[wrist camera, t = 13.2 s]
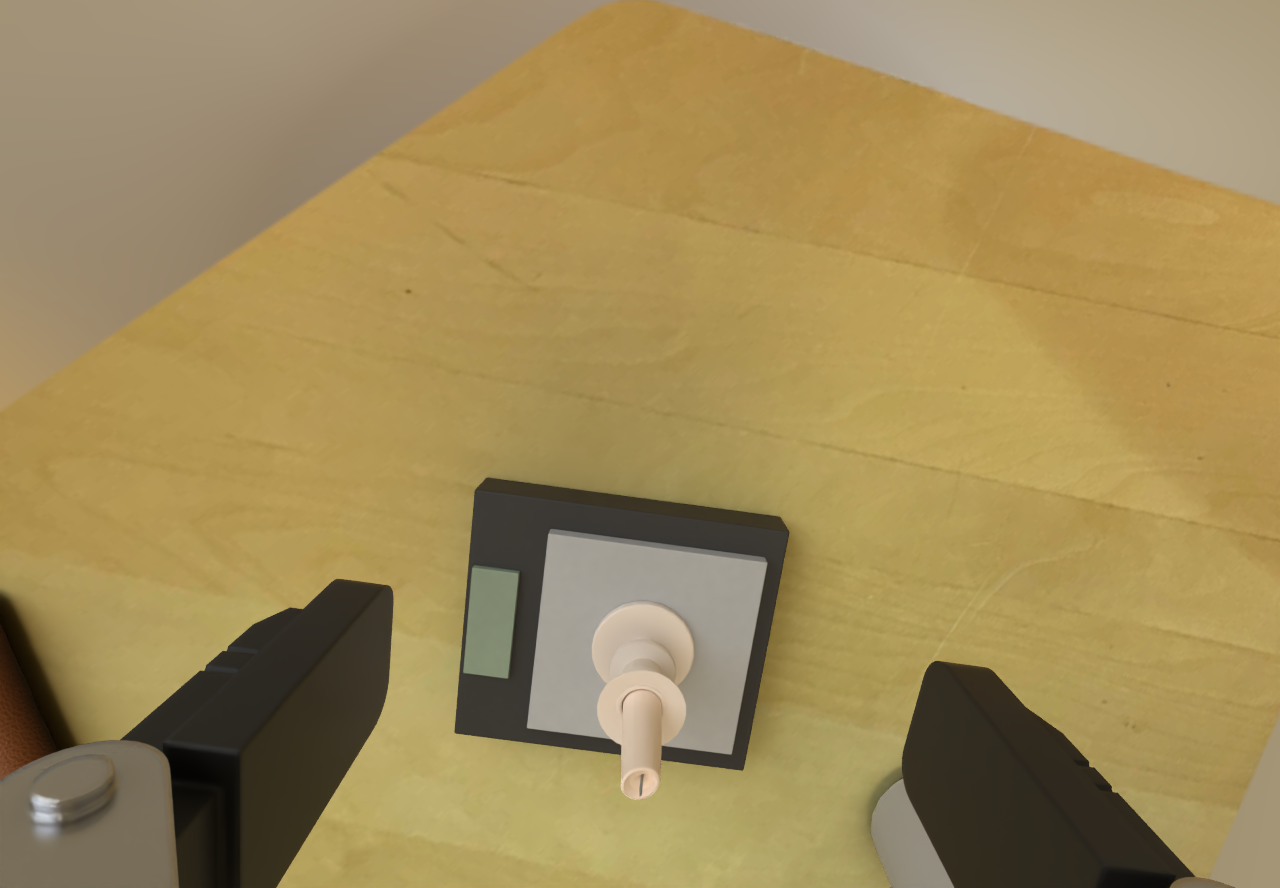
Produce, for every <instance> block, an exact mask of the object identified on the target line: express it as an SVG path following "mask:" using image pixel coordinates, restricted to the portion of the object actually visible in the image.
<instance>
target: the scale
mask: <svg viewBox="0 0 1280 888" xmlns="http://www.w3.org/2000/svg"><path fill="white" fill-rule="evenodd" d="M788 537H789V531H788V529H787V528H786V526H785V524H784V523H783V521H782V519H781V518H780V517H776V516H769V515H761V514H754V513H747V512H739V511H732V510H724V509H717V508H709V507H702V506H694V505H687V504H679V503H672V502H664V501H657V500H650V499H642V498H635V497H627V496H620V495H612V494H605V493H597V492H590V491H582V490H575V489H568V488H560V487H553V486H545V485H538V484H530V483H523V482H515V481H508V480H500V479H493V478H486V479H485V480H484V481H483V482H482V483H481V484H480V485H479V486H478V487H477V489H476V490H475V495H474V507H473V519H472V531H471V543H470V554H469V566H468V578H467V590H466V602H465V614H464V626H463V638H462V650H461V661H460V673H459V685H458V697H457V709H456V721H455V733H456V734H464V735H472V736H480V737H487V738H495V739H503V740H510V741H518V742H526V743H534V744H541V745H549V746H557V747H565V748H572V749H580V750H588V751H595V752H603V753H611V754H619V755H621V745H620V744H618V743H616V742H615V741H613V740H612V739H611V738H610V737H609V736H607V734H606V733H605V732H604V730H603V729H602V727H601V725H600V722H599V719H598V716H597V703H598V700H599V696H600V693H601V692H602V690H603V688H604V687H605V685H606V684H607V683H605V682H604V681H603V680H602V678H601V677H600V675H599V674H598V672H597V671H596V669H595V666H594V663H593V660H592V642H593V638H594V634H595V630H596V628H597V627H598V625H599V623H600V622H601V620H602V619H603V618H604V617H605V616H606V615H607V614H608V613H609V612H610V611H612V610H613V609H615V608H617V607H619V606H621V605H623V604H626V603H630V602H634V601H651V602H655V603H659V604H663V605H664V606H666V607H668V608H670V609H672V610H674V611H675V612H676V613H677V614H678V615H679V616H681V617H682V618H683V619H684V621H685V622H686V624H687V626H688V627H689V629H690V631H691V634H692V638H693V641H694V659H693V663H692V666H691V669H690V671H689V673H688V674H687V676H686V677H685V679H684V680H683V681H682V682H681V683H680V684H679V685H678V687H679V689H680V690H681V692H682V693H683V696H684V699H685V703H686V717H685V721H684V724H683V726H682V728H681V730H680V731H679V733H678V734H677V735H676V736H675V737H674V738H673V739H672V740H671V741H670V742H668V743H666V744H664V745H662V753H661V760H665V761H673V762H680V763H688V764H696V765H704V766H711V767H719V768H727V769H735V770H743V769H744V765H745V760H746V755H747V749H748V744H749V739H750V734H751V729H752V723H753V718H754V713H755V708H756V703H757V698H758V692H759V687H760V682H761V677H762V672H763V666H764V661H765V656H766V651H767V646H768V640H769V635H770V630H771V625H772V620H773V614H774V609H775V604H776V599H777V594H778V589H779V583H780V578H781V573H782V568H783V563H784V557H785V552H786V547H787V542H788Z"/></svg>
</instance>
